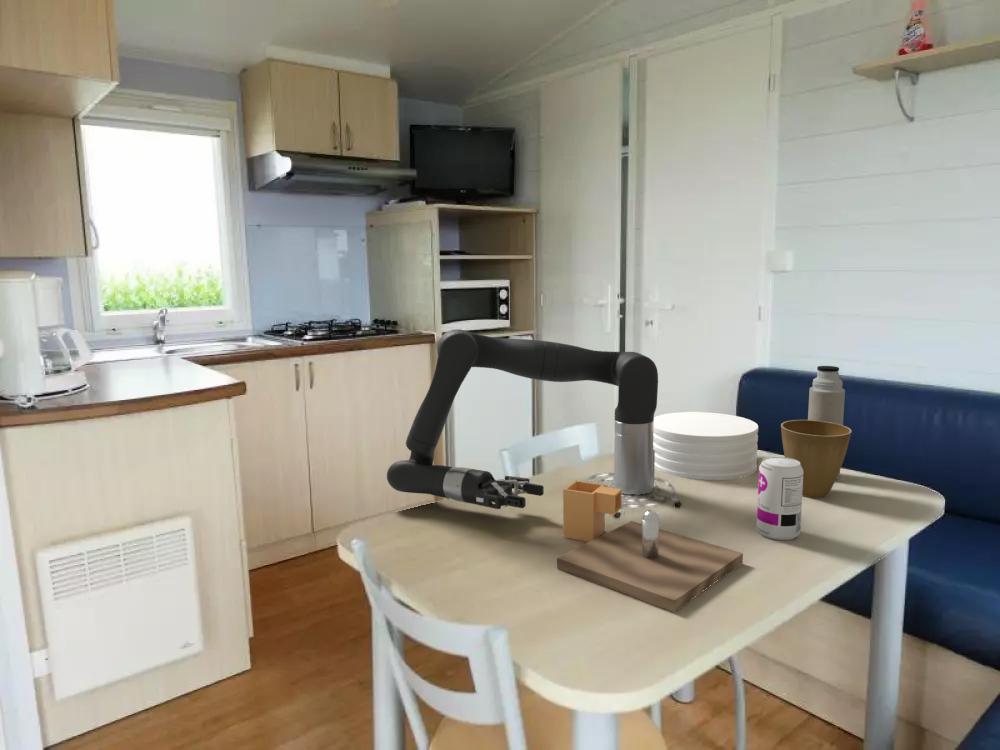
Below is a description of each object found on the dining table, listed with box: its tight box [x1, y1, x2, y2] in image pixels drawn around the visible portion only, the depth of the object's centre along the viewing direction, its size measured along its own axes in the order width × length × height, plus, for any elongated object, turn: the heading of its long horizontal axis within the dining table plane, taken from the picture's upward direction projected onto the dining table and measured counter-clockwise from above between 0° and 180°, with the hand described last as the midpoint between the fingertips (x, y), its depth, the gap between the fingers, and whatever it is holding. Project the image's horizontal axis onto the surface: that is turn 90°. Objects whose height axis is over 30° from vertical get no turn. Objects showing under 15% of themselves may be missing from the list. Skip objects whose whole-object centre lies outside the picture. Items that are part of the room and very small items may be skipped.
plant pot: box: [780, 419, 852, 499], centre depth 162 cm, size 15×15×16 cm
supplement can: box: [756, 456, 803, 541], centre depth 139 cm, size 8×8×15 cm
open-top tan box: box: [562, 480, 623, 543], centre depth 140 cm, size 10×6×10 cm, turn 61°
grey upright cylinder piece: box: [641, 509, 660, 559], centre depth 126 cm, size 3×3×8 cm
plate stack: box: [653, 411, 759, 481], centre depth 188 cm, size 28×28×12 cm
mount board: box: [556, 520, 744, 613], centre depth 127 cm, size 24×24×2 cm
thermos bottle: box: [807, 365, 846, 480], centre depth 174 cm, size 8×8×28 cm
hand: (534, 496), depth 146 cm, fingers open, 8 cm apart
